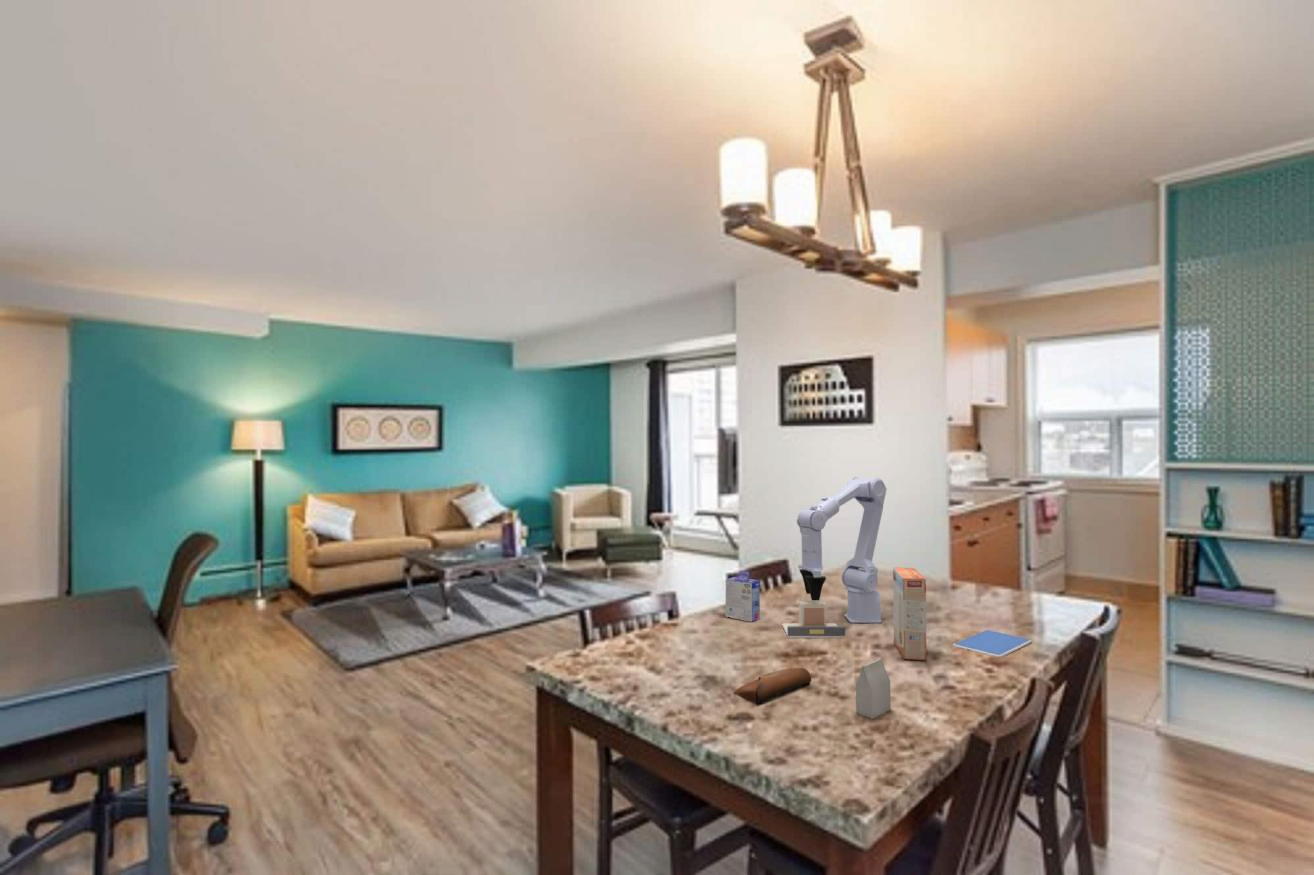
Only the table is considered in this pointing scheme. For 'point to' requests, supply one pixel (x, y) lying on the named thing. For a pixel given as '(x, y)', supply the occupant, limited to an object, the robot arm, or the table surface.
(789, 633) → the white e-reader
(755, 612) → the ink cartridge box
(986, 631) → the tablet computer
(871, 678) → the grey milk carton
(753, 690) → the sunglasses case
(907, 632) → the cracker box
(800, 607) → the carton
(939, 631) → the table surface
